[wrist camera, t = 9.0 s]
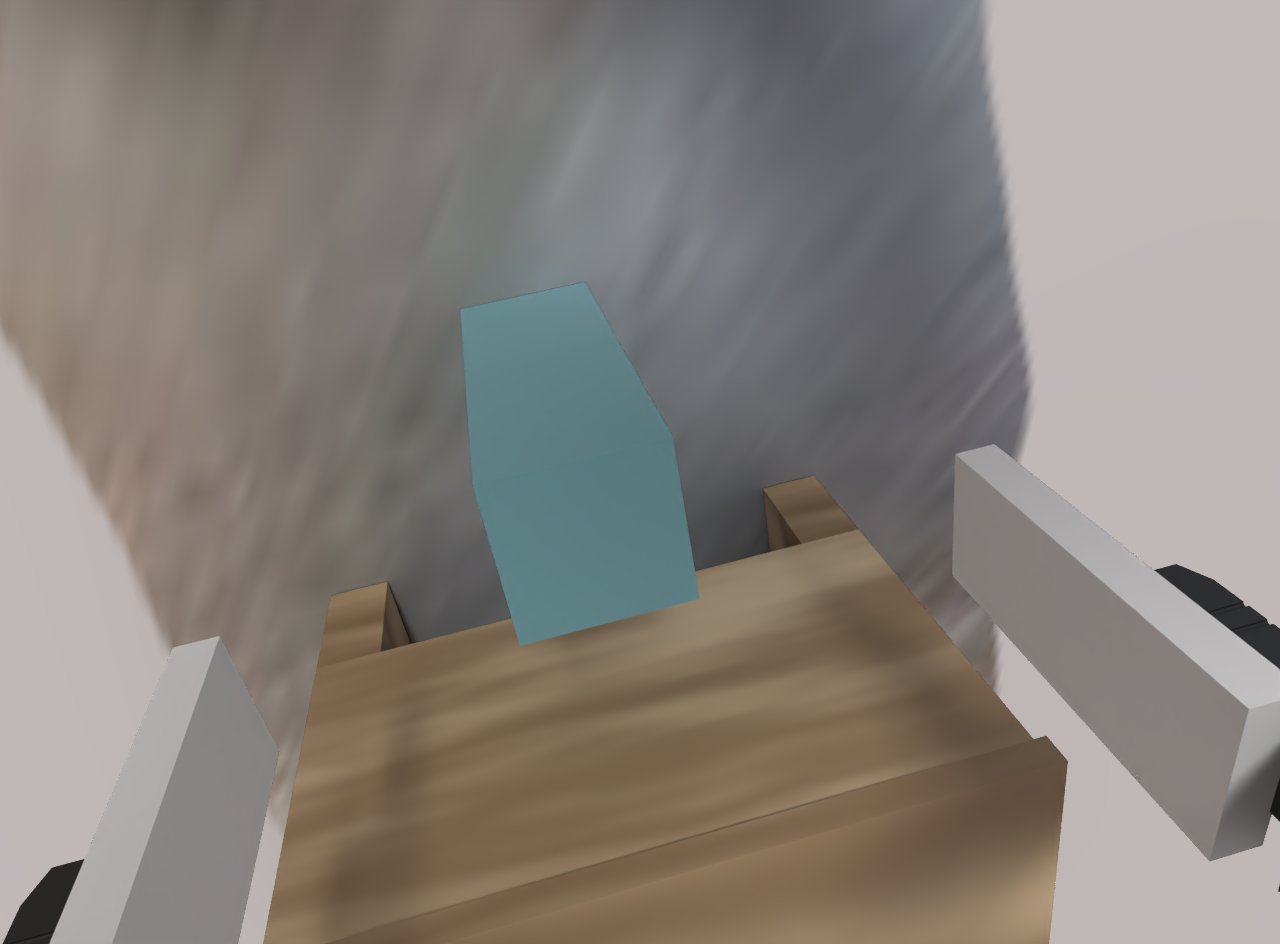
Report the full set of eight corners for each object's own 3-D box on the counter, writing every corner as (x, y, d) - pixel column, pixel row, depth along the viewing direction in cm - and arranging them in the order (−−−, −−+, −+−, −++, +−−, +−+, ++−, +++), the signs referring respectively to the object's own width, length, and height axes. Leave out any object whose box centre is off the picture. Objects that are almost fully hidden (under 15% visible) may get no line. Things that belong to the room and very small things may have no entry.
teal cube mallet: (460, 309, 27) (472, 486, 17) (584, 281, 28) (673, 436, 17) (609, 855, 40) (670, 1153, 29) (694, 830, 40) (783, 1115, 30)
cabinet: (323, 592, 31) (237, 1003, 18) (818, 469, 33) (1068, 761, 20) (434, 859, 38) (431, 1297, 25) (838, 746, 39) (1033, 1097, 26)
